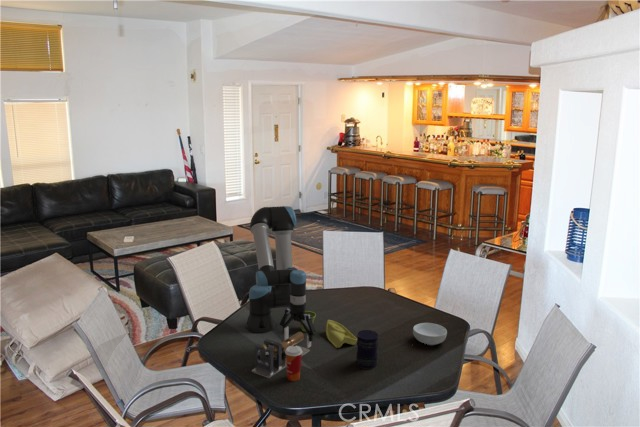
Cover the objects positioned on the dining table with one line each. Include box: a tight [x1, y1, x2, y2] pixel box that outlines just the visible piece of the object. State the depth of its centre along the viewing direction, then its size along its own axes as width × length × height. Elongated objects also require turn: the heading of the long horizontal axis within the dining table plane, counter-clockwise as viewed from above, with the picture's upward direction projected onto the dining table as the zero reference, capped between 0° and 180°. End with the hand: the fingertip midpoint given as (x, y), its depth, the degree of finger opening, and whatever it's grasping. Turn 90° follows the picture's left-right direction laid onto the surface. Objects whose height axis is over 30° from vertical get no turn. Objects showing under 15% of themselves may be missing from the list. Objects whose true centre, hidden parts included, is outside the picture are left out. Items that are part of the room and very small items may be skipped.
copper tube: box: [272, 331, 305, 356], centre depth 263 cm, size 20×5×5 cm, turn 146°
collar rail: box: [251, 338, 311, 379], centre depth 259 cm, size 32×10×13 cm, turn 146°
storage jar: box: [356, 329, 379, 370], centre depth 258 cm, size 10×10×15 cm
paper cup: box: [285, 345, 303, 382], centre depth 244 cm, size 8×8×14 cm
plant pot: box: [299, 310, 317, 333], centre depth 294 cm, size 9×9×9 cm
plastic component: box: [325, 319, 357, 349], centre depth 284 cm, size 20×7×10 cm
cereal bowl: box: [412, 322, 448, 346], centre depth 283 cm, size 17×17×7 cm
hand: (297, 343), depth 270 cm, fingers open, 13 cm apart
